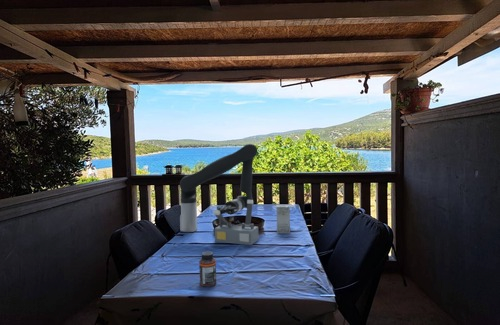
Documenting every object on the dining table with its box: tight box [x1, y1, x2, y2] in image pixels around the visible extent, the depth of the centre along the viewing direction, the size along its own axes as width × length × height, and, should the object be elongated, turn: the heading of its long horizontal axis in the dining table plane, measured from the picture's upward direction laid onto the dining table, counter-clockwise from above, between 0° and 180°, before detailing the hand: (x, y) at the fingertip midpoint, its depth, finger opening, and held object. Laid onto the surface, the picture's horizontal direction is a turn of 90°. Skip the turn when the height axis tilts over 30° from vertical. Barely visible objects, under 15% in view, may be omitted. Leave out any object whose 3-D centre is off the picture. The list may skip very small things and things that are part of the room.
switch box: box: [214, 221, 259, 246], centre depth 168 cm, size 21×10×10 cm, turn 68°
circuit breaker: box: [276, 204, 291, 234], centre depth 188 cm, size 8×14×15 cm, turn 174°
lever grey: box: [244, 199, 254, 227], centre depth 167 cm, size 3×2×14 cm, turn 68°
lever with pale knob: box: [212, 209, 229, 226], centre depth 165 cm, size 3×2×14 cm
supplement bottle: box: [198, 251, 217, 287], centre depth 114 cm, size 6×6×11 cm
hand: (219, 212), depth 163 cm, fingers closed
